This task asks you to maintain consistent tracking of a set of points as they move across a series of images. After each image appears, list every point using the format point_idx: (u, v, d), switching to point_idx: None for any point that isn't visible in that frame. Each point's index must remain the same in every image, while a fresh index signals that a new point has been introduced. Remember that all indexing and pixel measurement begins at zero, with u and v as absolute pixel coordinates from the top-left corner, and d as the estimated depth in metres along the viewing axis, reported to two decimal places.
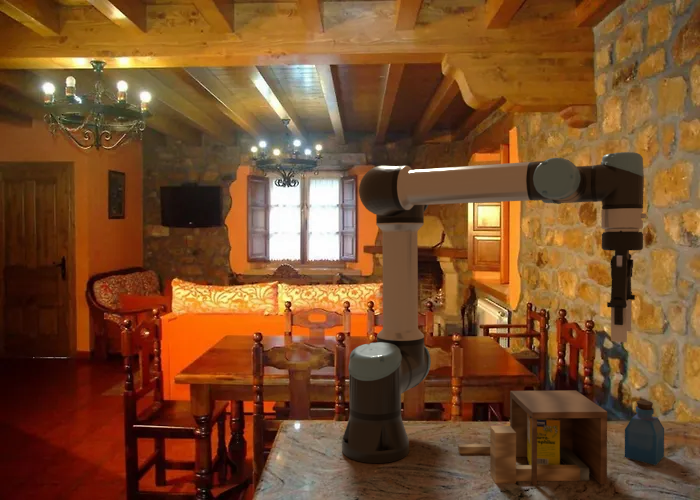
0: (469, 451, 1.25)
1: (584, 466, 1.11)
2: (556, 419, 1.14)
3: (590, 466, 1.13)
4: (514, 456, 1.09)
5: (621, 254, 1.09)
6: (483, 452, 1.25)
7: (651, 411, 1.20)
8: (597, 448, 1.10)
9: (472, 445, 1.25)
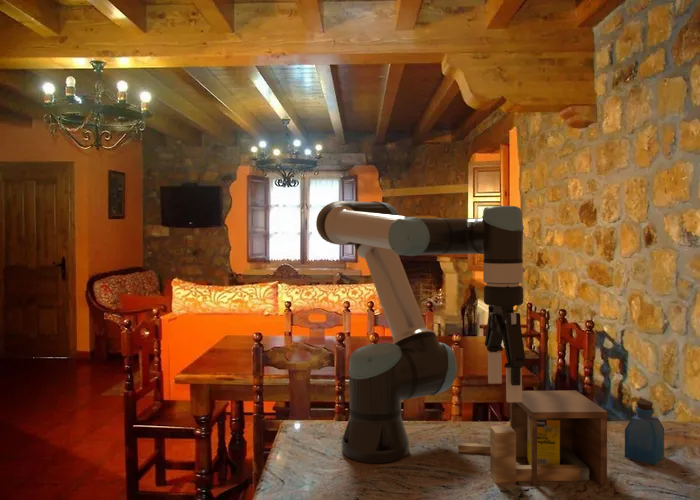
0: (468, 450, 1.25)
1: (584, 466, 1.11)
2: (556, 419, 1.14)
3: (590, 466, 1.13)
4: (514, 456, 1.09)
5: (509, 310, 1.07)
6: (482, 452, 1.25)
7: (651, 411, 1.20)
8: (597, 448, 1.10)
9: (472, 445, 1.26)
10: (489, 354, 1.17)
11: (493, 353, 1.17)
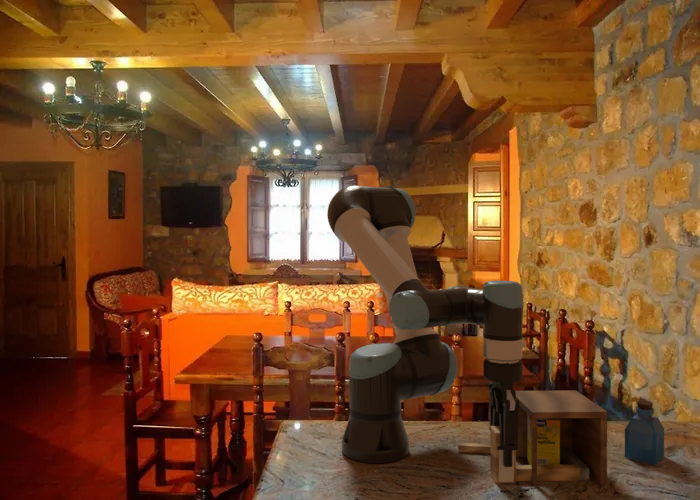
0: (468, 450, 1.25)
1: (584, 466, 1.11)
2: (556, 419, 1.14)
3: (590, 466, 1.13)
4: (514, 456, 1.09)
5: (509, 387, 1.07)
6: (482, 452, 1.25)
7: (651, 411, 1.20)
8: (597, 448, 1.10)
9: (472, 445, 1.26)
10: None
11: None
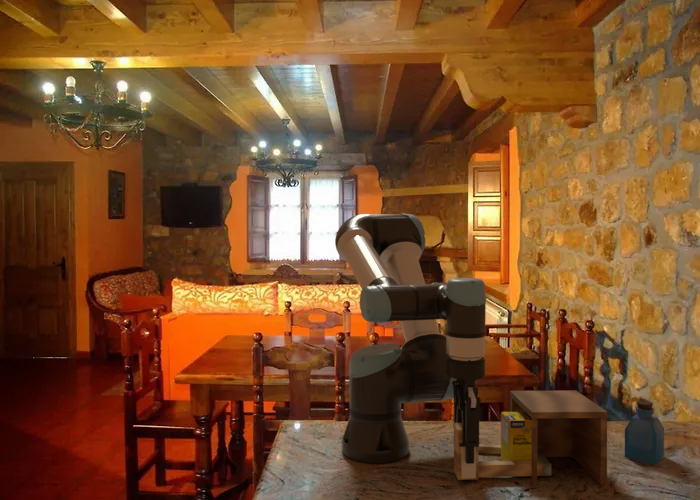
0: None
1: (546, 461, 1.12)
2: None
3: (590, 466, 1.13)
4: (476, 453, 1.10)
5: (471, 384, 1.07)
6: (482, 452, 1.25)
7: (651, 411, 1.20)
8: (597, 448, 1.10)
9: None
10: None
11: None
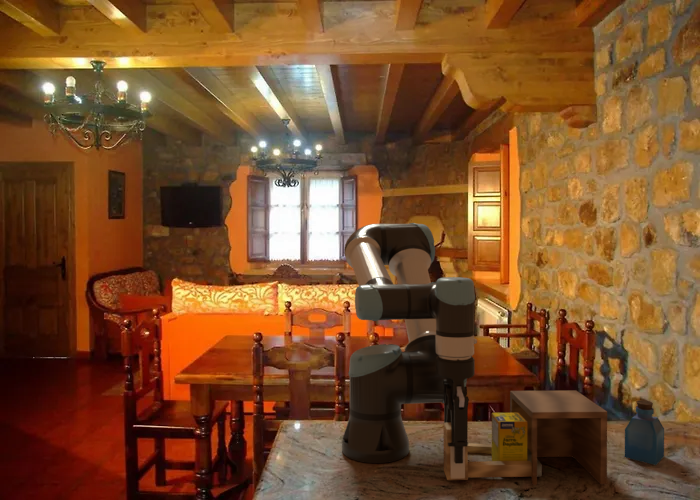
0: (468, 450, 1.25)
1: (537, 462, 1.11)
2: (523, 420, 1.14)
3: (590, 466, 1.13)
4: (466, 452, 1.09)
5: (459, 384, 1.07)
6: (482, 452, 1.25)
7: (651, 411, 1.20)
8: (597, 448, 1.10)
9: (472, 445, 1.26)
10: None
11: None
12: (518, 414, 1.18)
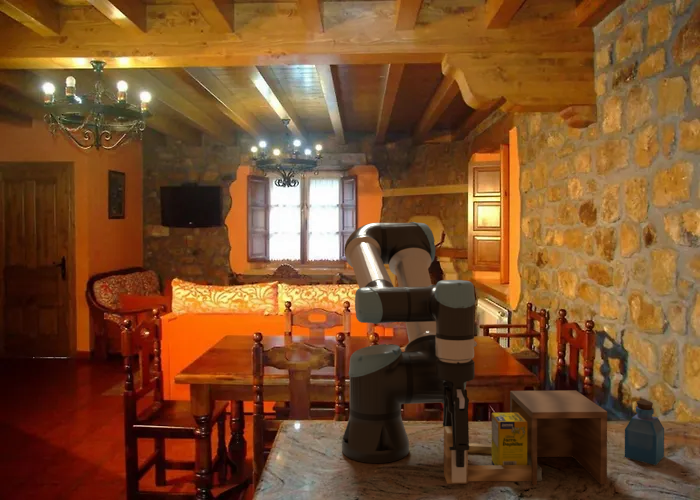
0: (468, 450, 1.25)
1: (537, 466, 1.11)
2: (523, 420, 1.14)
3: (590, 466, 1.13)
4: (466, 456, 1.09)
5: (459, 387, 1.07)
6: (482, 452, 1.25)
7: (651, 411, 1.20)
8: (597, 448, 1.10)
9: (472, 445, 1.26)
10: None
11: None
12: (518, 414, 1.18)
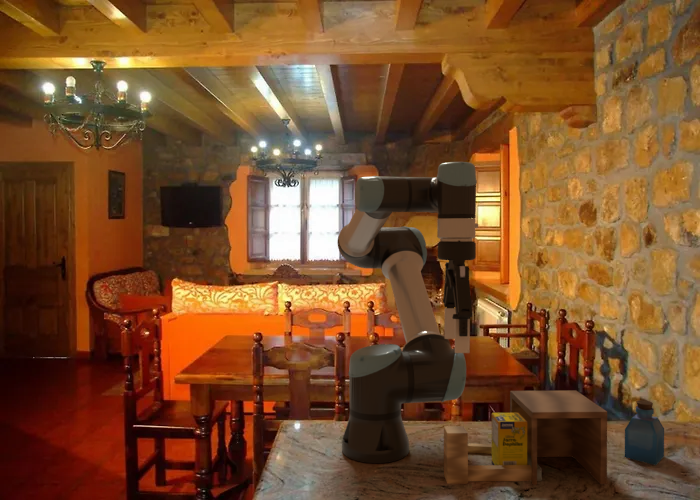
0: (468, 450, 1.25)
1: (537, 466, 1.11)
2: (523, 420, 1.14)
3: (590, 466, 1.13)
4: (466, 456, 1.09)
5: (460, 264, 1.09)
6: (482, 452, 1.25)
7: (651, 411, 1.20)
8: (597, 448, 1.10)
9: (472, 445, 1.26)
10: (445, 310, 1.19)
11: (449, 309, 1.19)
12: (518, 414, 1.18)
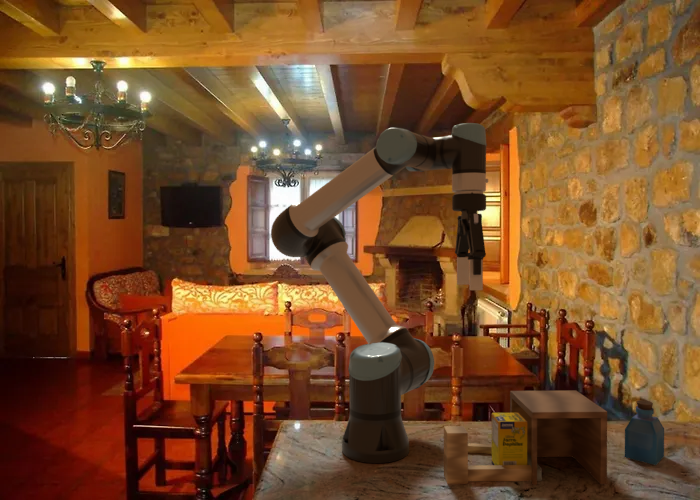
0: (468, 450, 1.25)
1: (537, 466, 1.11)
2: (523, 420, 1.14)
3: (590, 466, 1.13)
4: (466, 456, 1.09)
5: (473, 213, 1.23)
6: (482, 452, 1.25)
7: (651, 411, 1.20)
8: (597, 448, 1.10)
9: (472, 445, 1.26)
10: (458, 259, 1.33)
11: (461, 258, 1.33)
12: (518, 414, 1.18)
